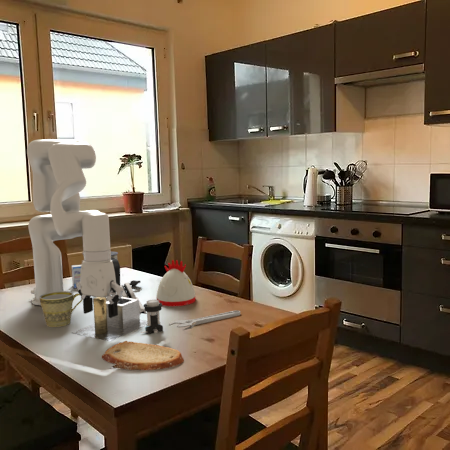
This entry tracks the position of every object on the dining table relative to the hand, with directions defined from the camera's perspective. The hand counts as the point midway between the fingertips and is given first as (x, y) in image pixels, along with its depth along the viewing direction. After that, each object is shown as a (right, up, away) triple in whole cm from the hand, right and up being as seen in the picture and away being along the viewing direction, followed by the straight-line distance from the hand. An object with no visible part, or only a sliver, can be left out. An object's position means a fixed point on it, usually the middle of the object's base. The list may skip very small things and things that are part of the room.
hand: (100, 314), depth 150 cm
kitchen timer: (+18, -2, +36) cm, 41 cm away
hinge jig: (+3, -6, +5) cm, 8 cm away
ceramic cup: (-14, -6, +11) cm, 19 cm away
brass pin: (0, -5, +1) cm, 5 cm away
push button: (+15, -6, 0) cm, 16 cm away
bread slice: (+15, -9, -17) cm, 24 cm away
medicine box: (-22, +1, +61) cm, 64 cm away
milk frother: (-6, 0, +54) cm, 54 cm away
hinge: (+4, -3, +27) cm, 28 cm away
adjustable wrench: (+30, -5, +12) cm, 33 cm away
